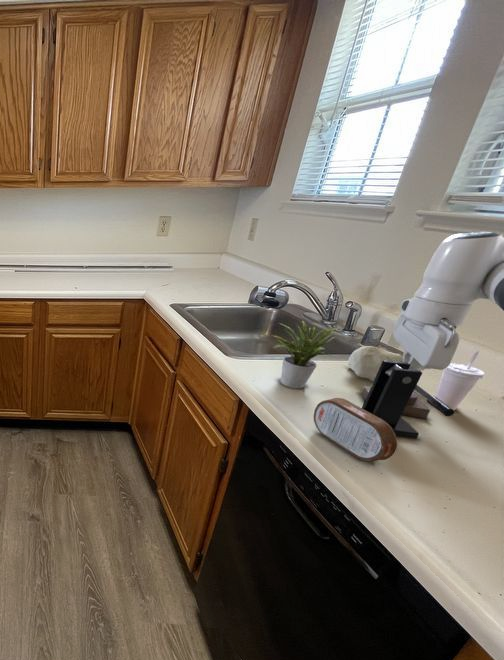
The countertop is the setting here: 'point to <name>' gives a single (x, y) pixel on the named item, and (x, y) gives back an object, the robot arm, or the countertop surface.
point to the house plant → (301, 356)
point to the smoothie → (458, 382)
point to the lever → (429, 397)
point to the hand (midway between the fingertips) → (406, 371)
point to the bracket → (393, 396)
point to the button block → (408, 404)
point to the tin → (355, 429)
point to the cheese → (372, 361)
